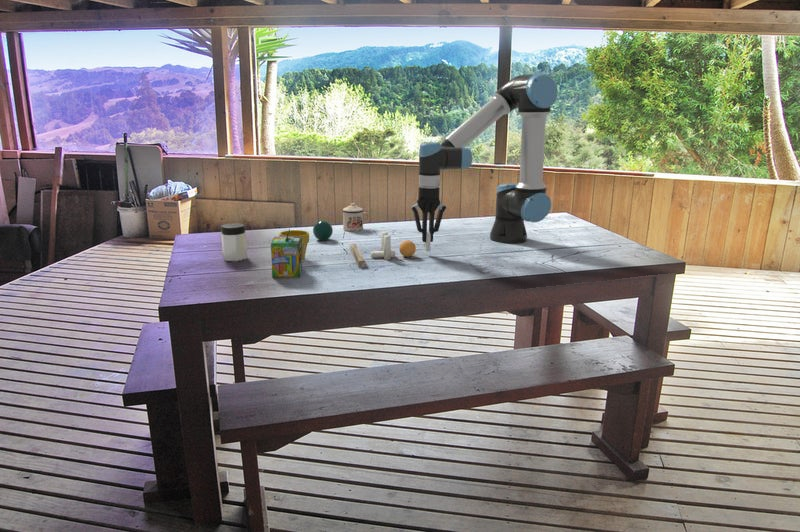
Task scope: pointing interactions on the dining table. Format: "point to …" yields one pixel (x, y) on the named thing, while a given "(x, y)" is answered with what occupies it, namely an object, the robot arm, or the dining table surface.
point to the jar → (233, 242)
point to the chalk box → (286, 256)
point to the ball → (407, 248)
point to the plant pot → (298, 234)
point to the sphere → (322, 230)
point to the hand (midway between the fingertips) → (427, 250)
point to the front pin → (381, 254)
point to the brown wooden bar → (357, 255)
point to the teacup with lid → (353, 218)
